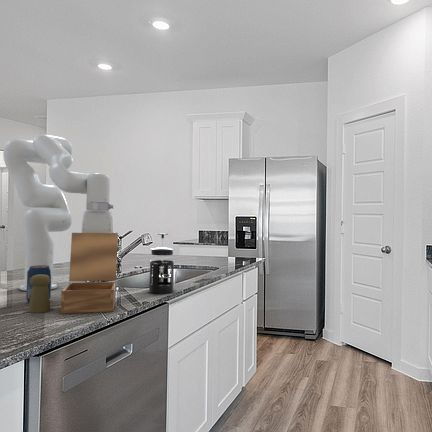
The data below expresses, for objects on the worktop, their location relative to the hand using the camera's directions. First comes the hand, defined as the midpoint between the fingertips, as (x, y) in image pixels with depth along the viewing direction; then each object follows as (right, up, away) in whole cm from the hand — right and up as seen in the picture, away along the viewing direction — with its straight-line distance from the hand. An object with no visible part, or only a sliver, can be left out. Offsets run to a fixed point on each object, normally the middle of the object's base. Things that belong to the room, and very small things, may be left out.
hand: (96, 258), depth 154 cm
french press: (+19, -15, +13) cm, 28 cm away
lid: (+3, +1, -8) cm, 8 cm away
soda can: (-14, -14, -11) cm, 23 cm away
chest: (+5, -14, -16) cm, 22 cm away
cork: (-8, -14, -22) cm, 28 cm away
